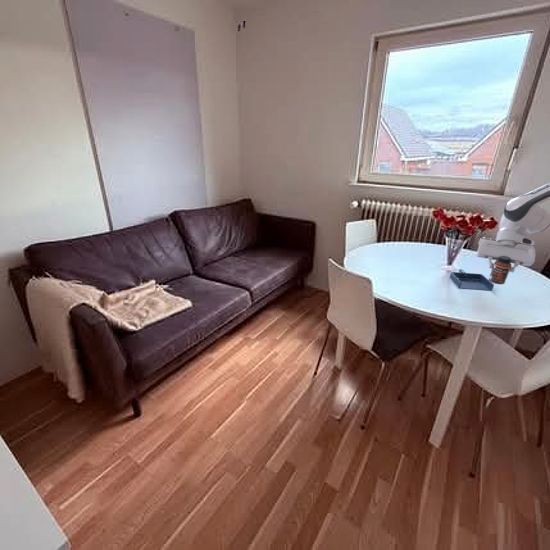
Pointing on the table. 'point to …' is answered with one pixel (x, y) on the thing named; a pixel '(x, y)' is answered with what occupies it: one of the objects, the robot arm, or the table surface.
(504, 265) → the supplement bottle
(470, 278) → the blue tray
